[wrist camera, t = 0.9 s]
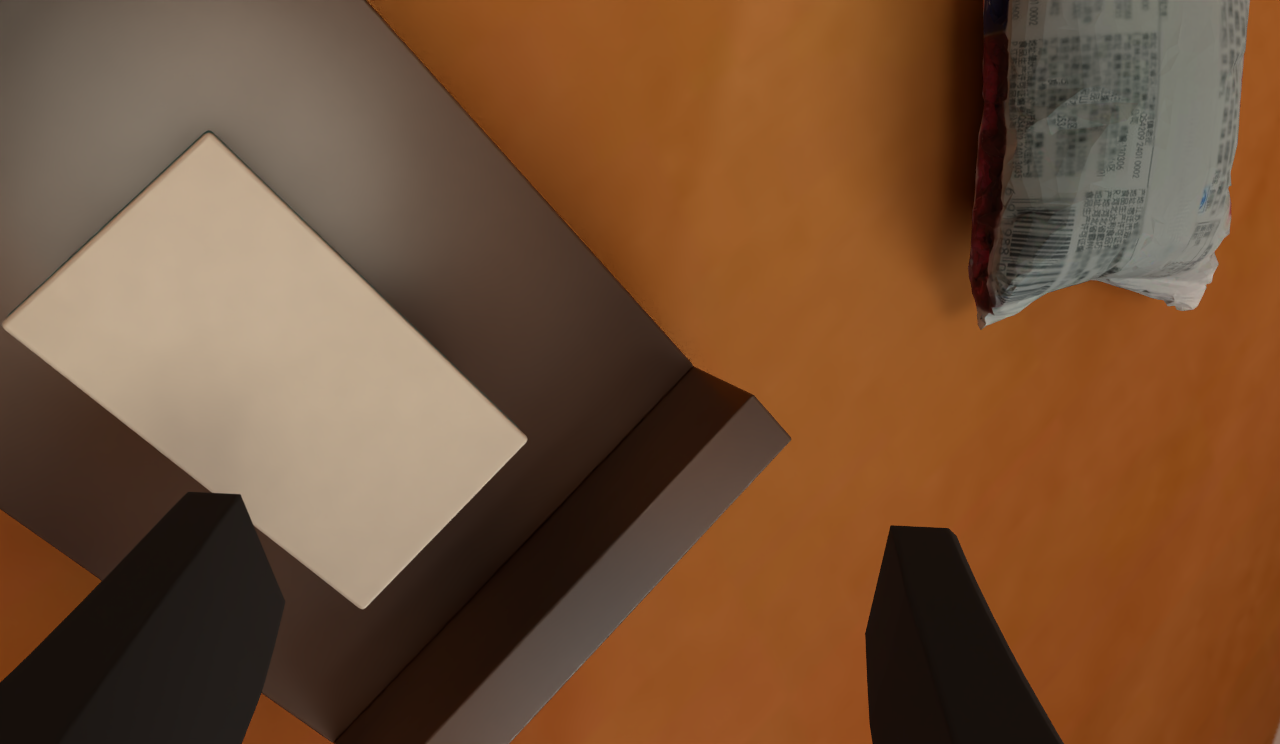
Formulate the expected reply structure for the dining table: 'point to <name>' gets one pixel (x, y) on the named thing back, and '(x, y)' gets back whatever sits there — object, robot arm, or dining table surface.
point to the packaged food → (1104, 147)
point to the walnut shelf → (423, 293)
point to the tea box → (269, 371)
